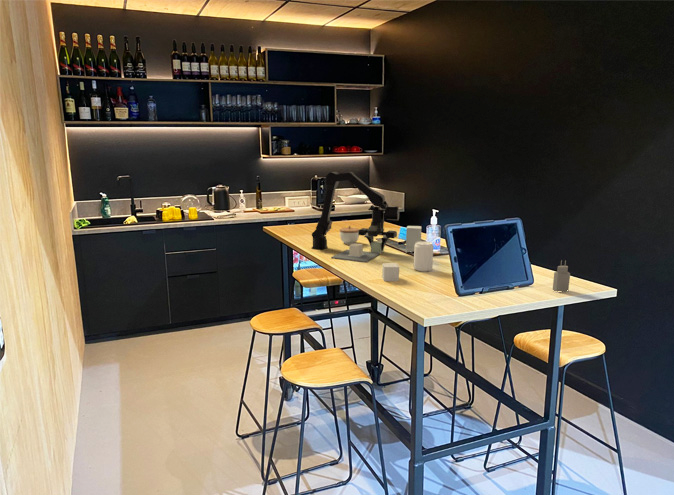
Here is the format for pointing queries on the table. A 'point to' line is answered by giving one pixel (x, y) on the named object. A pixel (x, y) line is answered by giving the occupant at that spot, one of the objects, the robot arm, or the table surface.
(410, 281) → the table surface
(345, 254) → the mat
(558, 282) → the power adapter
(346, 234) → the lidded jar
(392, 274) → the pinkish grey cube
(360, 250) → the cream block
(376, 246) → the sage block
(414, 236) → the supplement box
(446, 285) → the table surface
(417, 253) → the beverage can
